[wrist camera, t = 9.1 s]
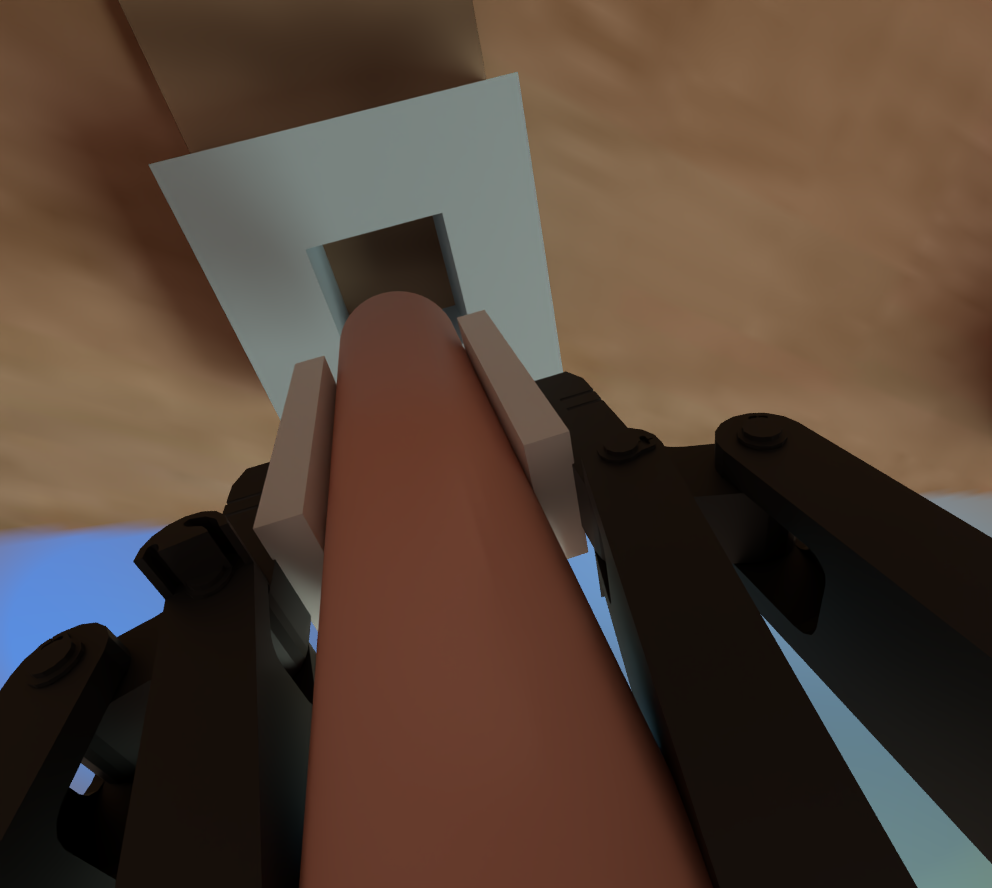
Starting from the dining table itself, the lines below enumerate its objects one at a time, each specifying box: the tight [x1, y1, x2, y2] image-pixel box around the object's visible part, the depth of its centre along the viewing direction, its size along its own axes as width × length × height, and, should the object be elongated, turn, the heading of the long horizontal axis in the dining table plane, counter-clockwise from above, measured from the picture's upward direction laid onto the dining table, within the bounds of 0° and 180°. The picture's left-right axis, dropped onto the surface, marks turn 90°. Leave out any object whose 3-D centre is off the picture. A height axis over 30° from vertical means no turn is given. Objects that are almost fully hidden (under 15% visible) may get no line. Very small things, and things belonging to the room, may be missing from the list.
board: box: [118, 0, 486, 315], centre depth 20 cm, size 30×12×1 cm, turn 12°
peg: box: [299, 291, 713, 888], centre depth 10 cm, size 4×4×15 cm
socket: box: [148, 72, 563, 420], centre depth 22 cm, size 12×12×5 cm
